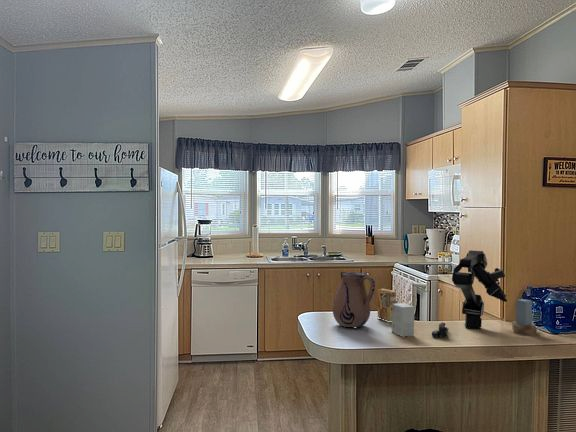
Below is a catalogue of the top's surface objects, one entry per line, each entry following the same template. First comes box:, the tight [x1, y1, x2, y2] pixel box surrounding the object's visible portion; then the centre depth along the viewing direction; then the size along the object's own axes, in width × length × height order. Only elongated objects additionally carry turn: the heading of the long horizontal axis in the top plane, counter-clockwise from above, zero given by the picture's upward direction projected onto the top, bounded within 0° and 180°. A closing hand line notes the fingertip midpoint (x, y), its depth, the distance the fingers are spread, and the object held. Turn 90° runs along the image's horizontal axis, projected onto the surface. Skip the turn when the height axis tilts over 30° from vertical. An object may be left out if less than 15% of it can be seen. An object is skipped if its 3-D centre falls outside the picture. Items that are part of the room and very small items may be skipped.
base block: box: [511, 320, 538, 337], centre depth 206 cm, size 9×9×4 cm
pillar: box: [515, 298, 533, 326], centre depth 206 cm, size 4×4×11 cm
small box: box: [391, 302, 415, 338], centre depth 198 cm, size 8×6×13 cm
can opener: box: [431, 321, 449, 339], centre depth 200 cm, size 18×7×6 cm, turn 155°
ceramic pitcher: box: [332, 271, 376, 328], centre depth 210 cm, size 18×21×25 cm
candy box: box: [377, 288, 397, 321], centre depth 223 cm, size 9×4×15 cm, turn 33°
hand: (506, 299), depth 212 cm, fingers open, 9 cm apart
